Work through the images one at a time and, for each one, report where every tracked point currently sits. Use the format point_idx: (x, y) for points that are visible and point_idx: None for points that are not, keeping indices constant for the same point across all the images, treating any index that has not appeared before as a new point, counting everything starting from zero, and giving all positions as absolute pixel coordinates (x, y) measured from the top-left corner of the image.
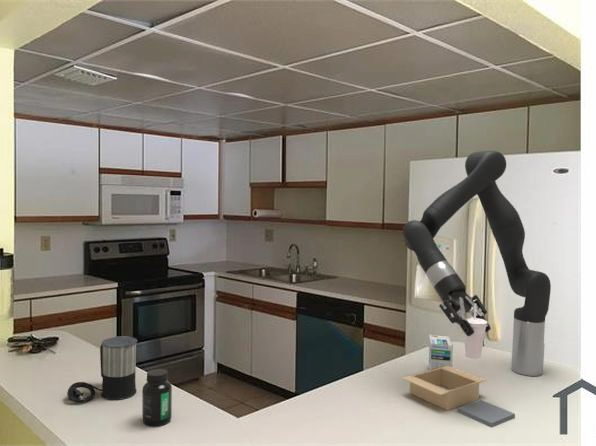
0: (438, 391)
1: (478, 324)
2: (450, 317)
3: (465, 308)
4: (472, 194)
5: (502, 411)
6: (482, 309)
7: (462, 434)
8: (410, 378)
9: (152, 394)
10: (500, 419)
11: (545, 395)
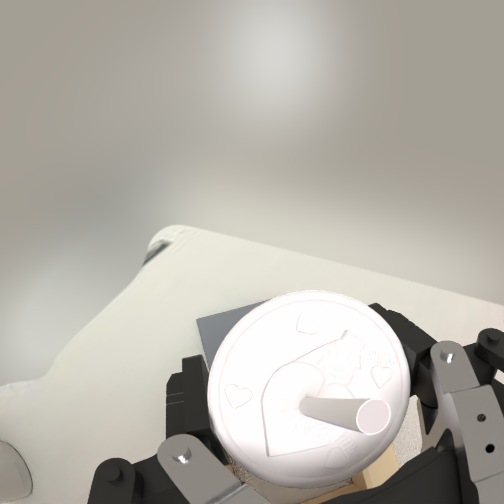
0: None
1: (343, 299)
2: (498, 390)
3: (412, 472)
4: None
5: (216, 336)
6: (131, 497)
7: (354, 287)
8: (386, 479)
9: None
10: (250, 305)
11: (52, 378)
